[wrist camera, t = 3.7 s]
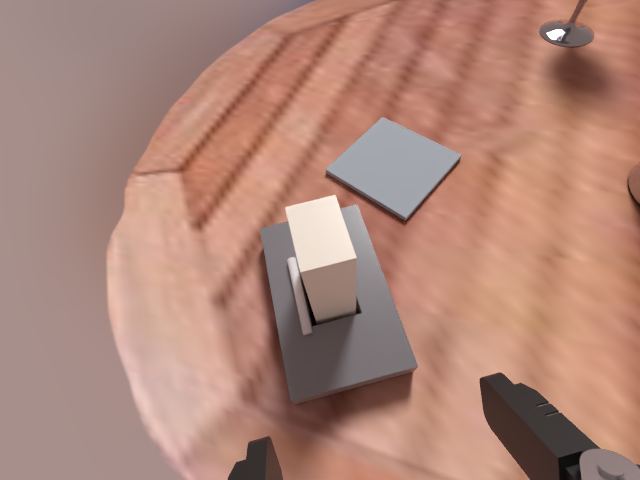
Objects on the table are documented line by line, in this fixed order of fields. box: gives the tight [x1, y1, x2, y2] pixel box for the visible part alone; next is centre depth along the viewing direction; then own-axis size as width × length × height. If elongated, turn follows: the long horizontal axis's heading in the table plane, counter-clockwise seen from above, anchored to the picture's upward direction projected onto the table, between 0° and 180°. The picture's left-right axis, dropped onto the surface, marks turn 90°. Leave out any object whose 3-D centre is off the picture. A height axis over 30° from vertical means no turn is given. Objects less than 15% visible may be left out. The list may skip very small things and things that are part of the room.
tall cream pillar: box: [285, 195, 357, 325], centre depth 27 cm, size 5×4×12 cm
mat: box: [326, 117, 461, 221], centre depth 39 cm, size 11×11×1 cm
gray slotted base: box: [260, 204, 418, 404], centre depth 30 cm, size 16×10×3 cm, turn 14°
